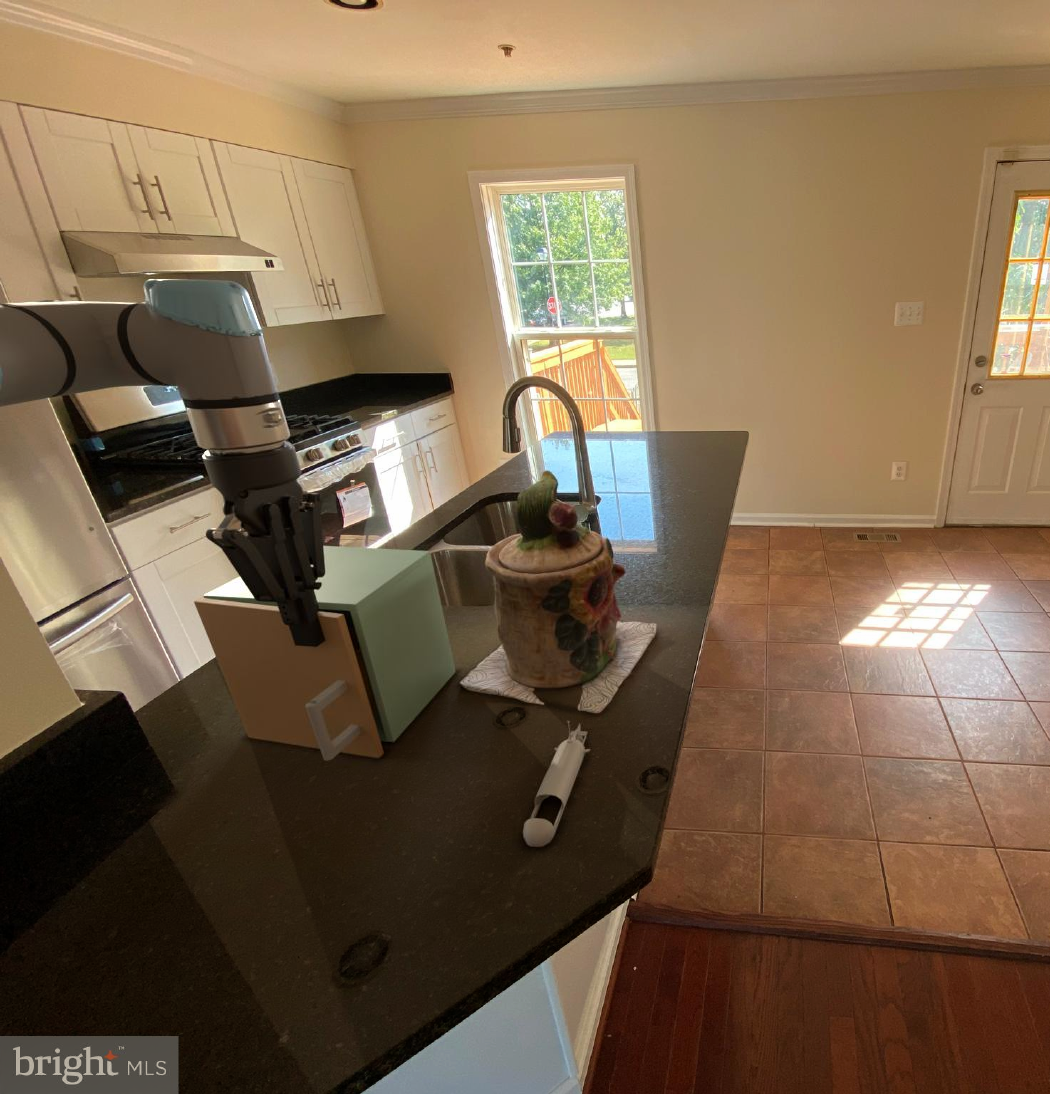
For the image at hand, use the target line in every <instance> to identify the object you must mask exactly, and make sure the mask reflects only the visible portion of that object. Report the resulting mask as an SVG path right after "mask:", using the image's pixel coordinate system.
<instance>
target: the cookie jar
mask: <svg viewBox="0 0 1050 1094" xmlns="http://www.w3.org/2000/svg"><path fill="white" fill-rule="evenodd" d="M541 474H542V475H541V477H540V479H539V480H537V481H536V482H535V483H533V484H532V485H529V486H528V487H525V488H524V489H523V490H522V491H520V492H519V494H518V495H517V498H516V504H515V512H516V513H515V515H516V518H517V521H516V524H517V527H518V529H519V533H517V534H512V535H510V536H508V537H506V538H503V539H502V540H500V541H499V542H497V543H495V544H493V545H492V546H491V547H490V548H489V549H488V551H487V553H486V558H485V561H484V566H485V568H486V570H487V572H489V573H490V574H491V575H492V576H493V584H494V590H495V592H494V604H493V605H494V606H493V607H494V608H493V609H494V614H495V617H496V632H497V636H498V640H499V641H500V645H499V647H498V648H497V649H495V650H494V651H492V653H490V654H489V656H486V657H485V658H484V659H483V660H482V661H480V662H479V663H478V664H477V665H476V668H474V669H471V670H470V671H469V672H468V674H467V675H466V676H465V677H464V678H463V679H462V680H460V682H459V684H460V685H461V686H462V687H463V688H464V689H466V691H467V690H468V691H471V692H476V693H480V694H487V695H495V696H500V697H506V698H510V699H516V700H518V701H520V702H524V703H527V704H536V705H537V704H538V705H543V706H544V705H545V702H543V701H541V700H540V699H539V698H538V696H537V695H536V694H535V693H534V691H535V689H539V690H540V689H542V690H545V689H562V688H563V689H564V688H568V687H569V688H570V687H573V686H577V685H582V686H581V688H582V692H581V696H580V700H579V704H578V705H577V710H578V711H579V712H581V711H583V712H588V713H592V714H600V713H602V712H603V711H604V710H605V709H606V707H607V706H608V705H609V703H611V701H613V697H614V696H615V694H616V693H617V692H618V690H619V687H620V686H621V685H622V683H623V682H624V681H625V680H626V679H627V678H628V677H629V676H630V674H631V673H632V670H633V669H634V668H635V666H636V665H637V664H638V662H639V660H640V659H641V658H642V656H643V654H644V653H645V652H646V650H647V648H648V647H649V646H650V644H651V642H652V640H653V639H654V638H655V637H656V633H657V627H658V626H657V625H658V624H657V623H651V622H648V623H647V622H640V621H623V622H622V621H620V620H621V619H622V614H621V610H620V609H619V607H618V602H617V598H616V595H615V585H616V584H617V581H619V580H620V579H621V578H623V577H624V576H625V574H626V569H625V567H623V566H622V565H621V564H618V563H614V558H615V557H614V555H615V554H614V549H613V545H612V543H611V541H610V539H609V538H608V537H604V536H602V535H601V534H599V532H596V531H593V530H590V529H589V528H588V527H585V526H583V525H581V524H579V523H578V518H579V517H578V514H577V510H576V508H575V507H574V506H573V505H572V504H570V503H564V502H562V501H558V498H557V496H558V488H559V481H558V478H556V476H555V475H554V474H553V472H552V471H550V470H548V469H545V470H543V471H542V473H541Z"/></svg>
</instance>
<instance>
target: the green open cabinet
mask: <svg viewBox="0 0 1050 1094" xmlns="http://www.w3.org/2000/svg"><path fill="white" fill-rule="evenodd" d="M323 548H324V560H325V575H324V577H319V578H318V579H317V580H316V581H315V582H322V586H321V588H320V589H319V590H314V592H315V595H316V600H317V603H318V605H319V611H320V612H329V613H338V614H344V617H345V621H346V624H347V627H348V628H352V627H355V630H356V634H357V637H358V641H359V644H360V648H361V651H362V655H363V658H364V662H365V665H366V669H367V672H368V676H369V679H370V683H371V686H372V690H373V693H374V697H375V701H376V704H377V709H375V710H373V711H372V714H373V717H374V721H375V724H376V728H377V731H378V735H379V738H380V741H381V742H389V743H395V742H396V741H397V739H398V738H400V736H401V734H402V733H403V732H404V731H405V730H406V729H407V728H408V727H409V725H410V724H411V723H412V722H413V721H414V720H415V719H416V718H417V717H418V716H419V714H420V713H421V712H422V711H423V710H424V709H425V708H426V706H427V705H428V704H429V703H430V702H431V701H432V699H434V697H435V696H436V695H437V694H438V693H439V692H440V690H441V689H443V687H444V686H445V685H446V684H447V682H448V681H449V680H450V679H451V678H452V677H453V676H454V674H455V673H456V667H455V663H454V657H453V653H452V649H451V644H450V639H449V635H448V630H447V626H446V621H445V615H444V611H443V606H442V602H441V601H442V600H441V596H440V592H439V588H438V582H437V578H436V572H435V569H434V564H433V559H432V555H431V550H415V549H414V550H413V549H393V548H376V547H375V548H373V547H355V546H335V545H323ZM311 567H313V565H311ZM202 596H203V597H202V598H207V599H216V600H225V601H233V602H242V603H251V604H259V605H268V606H277V607H278V605H277V603H276V602H262V601H256V600H255V598H254V597H253V595H252V594H251V592H250V591H249V589H248V588H247V586H246V585H245V583H244V582H243V580H242V579H241V577H240V576H238V577H236V578H233V579H232V580H231V581H229V582H226V583H225V584H223V585H220V586H219V587H217V588H214V589H213V590H210V591H209V592H207V593H205V594H203V595H202Z"/></svg>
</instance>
